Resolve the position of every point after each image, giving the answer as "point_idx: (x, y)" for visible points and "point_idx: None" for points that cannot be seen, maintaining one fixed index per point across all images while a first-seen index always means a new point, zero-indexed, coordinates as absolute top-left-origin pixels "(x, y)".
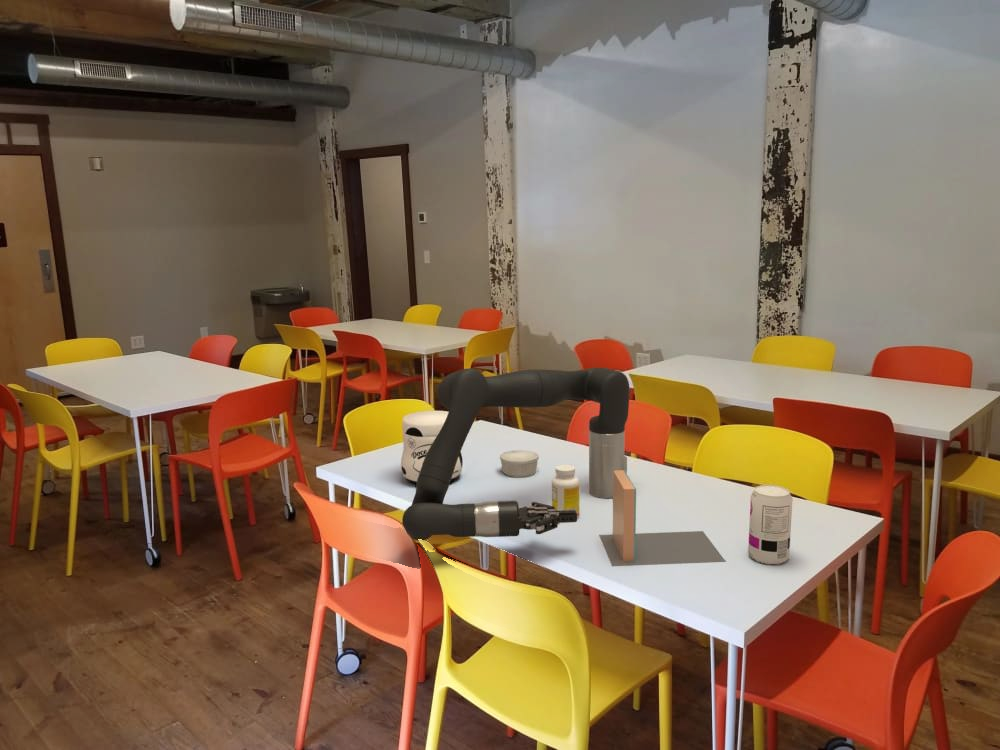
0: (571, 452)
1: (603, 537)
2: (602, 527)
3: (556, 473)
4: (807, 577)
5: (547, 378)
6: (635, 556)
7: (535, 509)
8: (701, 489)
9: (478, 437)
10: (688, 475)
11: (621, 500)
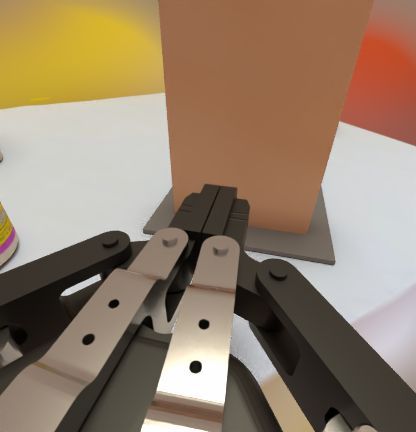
0: None
1: (162, 226)
2: (100, 213)
3: None
4: (351, 125)
5: None
6: None
7: (99, 376)
8: (81, 112)
9: None
10: (32, 108)
11: (307, 70)
